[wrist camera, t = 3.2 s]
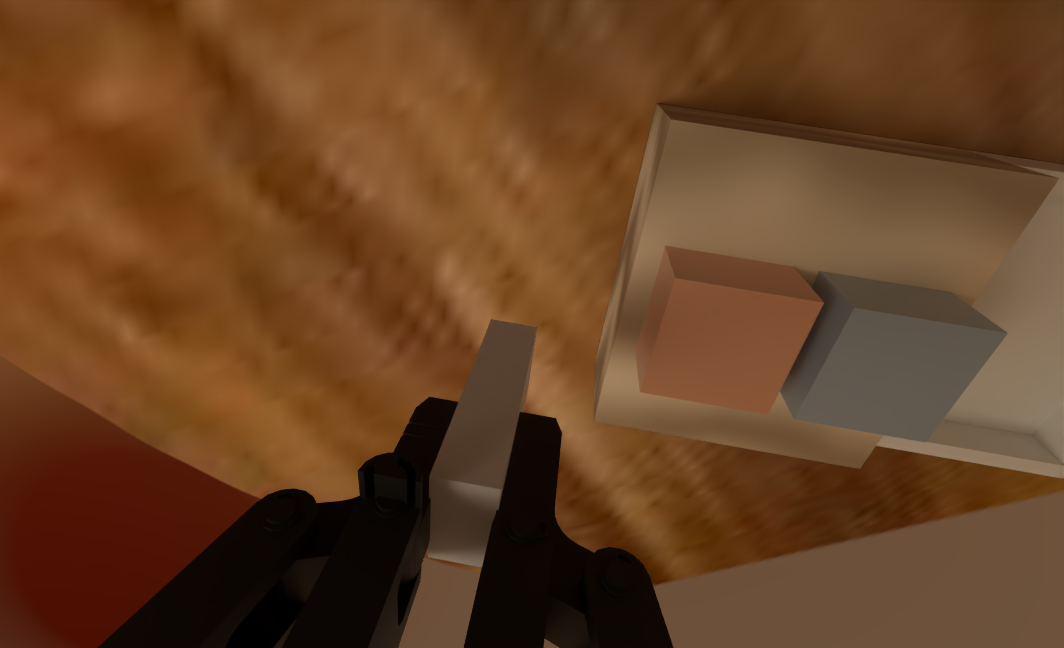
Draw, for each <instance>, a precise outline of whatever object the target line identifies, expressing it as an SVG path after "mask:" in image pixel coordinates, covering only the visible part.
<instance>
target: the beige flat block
mask: <svg viewBox="0 0 1064 648" xmlns="http://www.w3.org/2000/svg"><path fill="white" fill-rule="evenodd" d="M1058 180H1059V178H1056V177H1053V176H1050V175H1046V174H1043V173H1040V172H1036V171H1033V170H1030V169H1026V168H1023V167H1020V166H1017V165H1013V164H1010V163H1007V162H1003V161H1000V160H997V159H993V158H990V157H987V156H983V155H980V154H977V153H974V152H970V151H967V150H964V149H957V148H951V147H944V146H938V145H931V144H924V143H918V142H911V141H904V140H898V139H891V138H884V137H878V136H871V135H865V134H858V133H851V132H845V131H838V130H831V129H825V128H818V127H811V126H805V125H798V124H792V123H785V122H778V121H772V120H765V119H758V118H752V117H745V116H738V115H732V114H725V113H719V112H712V111H705V110H699V109H692V108H685V107H679V106H672V105H665V104H659V103H657V104H656V108H655V112H654V116H653V120H652V125H651V129H650V133H649V137H648V141H647V146H646V150H645V154H644V158H643V163H642V167H641V171H640V175H639V179H638V184H637V188H636V192H635V196H634V200H633V205H632V209H631V213H630V217H629V222H628V226H627V230H626V234H625V238H624V243H623V247H622V251H621V255H620V259H619V264H618V268H617V272H616V276H615V281H614V285H613V289H612V293H611V297H610V302H609V306H608V310H607V314H606V318H605V323H604V327H603V331H602V335H601V340H600V344H599V348H598V352H597V356H596V361H595V383H594V421H595V422H601V423H606V424H612V425H617V426H623V427H628V428H634V429H640V430H645V431H651V432H656V433H662V434H668V435H673V436H679V437H684V438H690V439H696V440H701V441H707V442H712V443H718V444H724V445H729V446H735V447H740V448H746V449H751V450H757V451H763V452H768V453H774V454H779V455H785V456H791V457H796V458H802V459H807V460H813V461H819V462H824V463H830V464H835V465H841V466H846V467H852V468H858V469H860V468H861V467H862V465H863V464H864V462H865V461H866V459H867V458H868V457H869V455H870V454H871V452H872V451H873V449H874V448H875V446H876V445H877V443H878V442H879V440H880V439H881V438H882V436H883V435H880V434H874V433H869V432H863V431H857V430H851V429H846V428H840V427H834V426H829V425H823V424H817V423H812V422H806V421H800V420H795V419H793V417H792V415H791V413H790V411H789V409H788V407H787V405H786V403H785V401H784V399H783V397H782V395H781V393H780V392H779V394H778V396H777V398H776V400H775V402H774V404H773V406H772V408H771V410H770V412H769V414H768V415H766V414H760V413H755V412H749V411H743V410H738V409H732V408H726V407H721V406H715V405H709V404H703V403H698V402H692V401H686V400H681V399H675V398H669V397H664V396H658V395H652V394H647V393H641V392H640V389H639V380H638V371H637V362H636V353H635V349H636V346H637V342H638V339H639V335H640V332H641V328H642V325H643V321H644V318H645V314H646V311H647V307H648V304H649V300H650V297H651V293H652V290H653V286H654V283H655V279H656V276H657V272H658V269H659V265H660V262H661V258H662V255H663V251H664V248H665V246H670V247H676V248H682V249H688V250H694V251H700V252H707V253H713V254H719V255H725V256H731V257H737V258H743V259H750V260H756V261H762V262H768V263H774V264H780V265H786V266H793V267H794V268H795V269H796V270H797V271H798V272H799V274H800V275H801V276H802V277H803V278H804V280H805V281H806V282H807V283H808V284H809V285H810V287H811V288H812V286H813V284H814V282H815V279H816V277H817V275H818V273H819V271H823V272H829V273H836V274H842V275H848V276H854V277H860V278H866V279H872V280H879V281H885V282H891V283H897V284H903V285H909V286H915V287H922V288H928V289H934V290H940V291H946V292H952V293H953V294H954V295H956V296H957V297H959V298H960V299H961V300H963V301H964V302H966V303H967V304H968V305H970V306H971V307H972V305H973V304H974V302H975V301H976V299H977V298H978V296H979V295H980V293H981V292H982V291H983V289H984V288H985V286H986V285H987V283H988V282H989V280H990V279H991V277H992V276H993V275H994V273H995V272H996V270H997V269H998V267H999V266H1000V264H1001V263H1002V261H1003V260H1004V258H1005V257H1006V256H1007V254H1008V253H1009V251H1010V250H1011V248H1012V247H1013V245H1014V244H1015V242H1016V241H1017V240H1018V238H1019V237H1020V235H1021V234H1022V232H1023V231H1024V229H1025V228H1026V226H1027V225H1028V224H1029V222H1030V221H1031V219H1032V218H1033V216H1034V215H1035V213H1036V212H1037V210H1038V209H1039V208H1040V206H1041V205H1042V203H1043V202H1044V200H1045V199H1046V197H1047V196H1048V194H1049V193H1050V192H1051V190H1052V189H1053V187H1054V186H1055V184H1056V183H1057V181H1058Z"/></svg>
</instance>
